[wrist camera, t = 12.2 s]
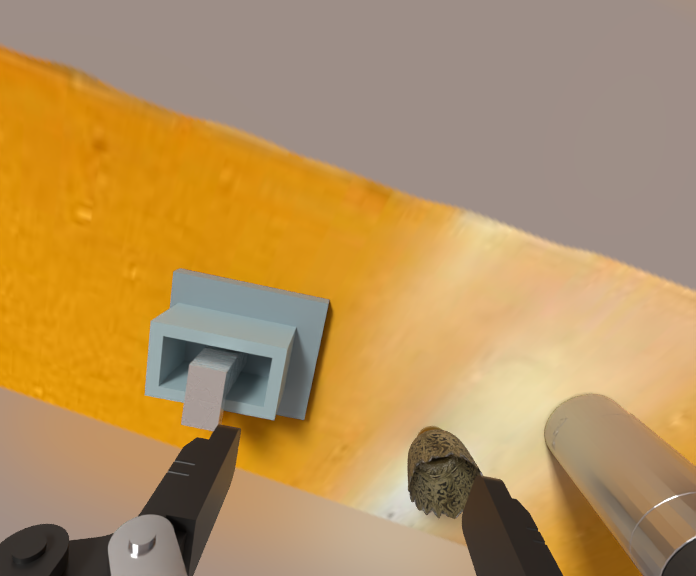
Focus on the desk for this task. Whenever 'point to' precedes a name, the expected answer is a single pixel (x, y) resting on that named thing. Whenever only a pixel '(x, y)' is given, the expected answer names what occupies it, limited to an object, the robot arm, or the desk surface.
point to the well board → (239, 342)
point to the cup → (440, 472)
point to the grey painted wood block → (210, 385)
